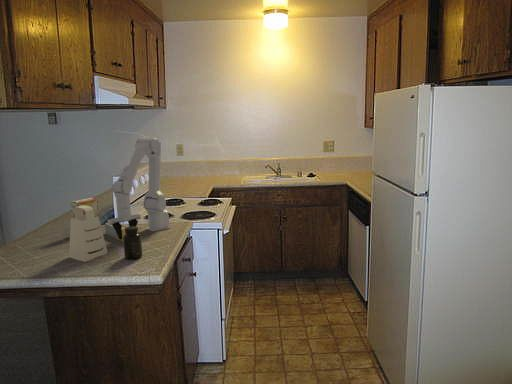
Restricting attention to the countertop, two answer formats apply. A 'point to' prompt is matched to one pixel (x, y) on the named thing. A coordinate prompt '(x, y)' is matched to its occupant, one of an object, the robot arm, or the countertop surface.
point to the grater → (86, 235)
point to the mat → (120, 240)
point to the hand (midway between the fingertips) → (126, 237)
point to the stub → (122, 232)
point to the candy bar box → (86, 202)
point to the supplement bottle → (132, 243)
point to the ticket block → (111, 230)
